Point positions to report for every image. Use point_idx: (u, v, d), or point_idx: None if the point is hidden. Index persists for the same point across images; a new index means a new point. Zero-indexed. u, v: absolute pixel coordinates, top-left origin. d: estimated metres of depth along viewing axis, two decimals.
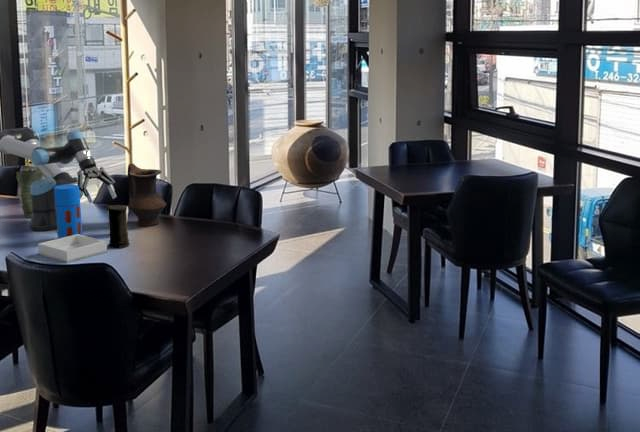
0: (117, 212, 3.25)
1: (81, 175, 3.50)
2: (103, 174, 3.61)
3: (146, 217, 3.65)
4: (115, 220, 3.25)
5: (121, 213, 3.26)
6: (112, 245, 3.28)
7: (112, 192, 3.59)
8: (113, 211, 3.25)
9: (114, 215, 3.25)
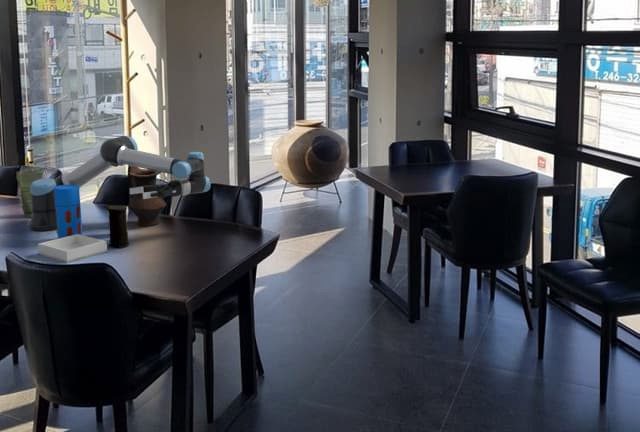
0: (117, 212, 3.25)
1: None
2: None
3: (146, 217, 3.65)
4: (115, 220, 3.25)
5: (121, 213, 3.26)
6: (112, 245, 3.28)
7: (135, 191, 3.39)
8: (113, 211, 3.25)
9: (114, 215, 3.25)
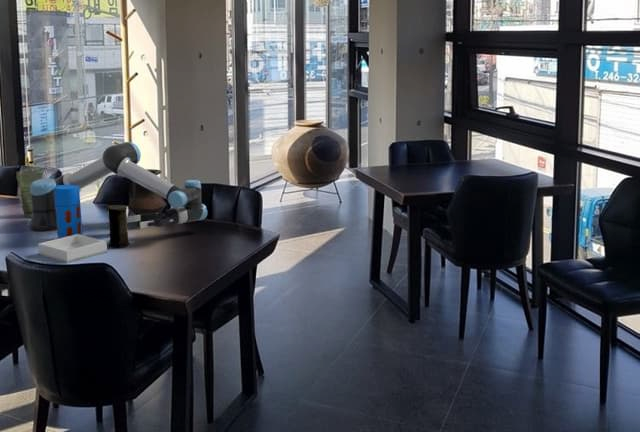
0: (117, 212, 3.25)
1: None
2: None
3: None
4: (115, 220, 3.25)
5: (121, 213, 3.26)
6: (112, 245, 3.28)
7: (132, 219, 3.40)
8: (113, 211, 3.25)
9: (114, 215, 3.25)
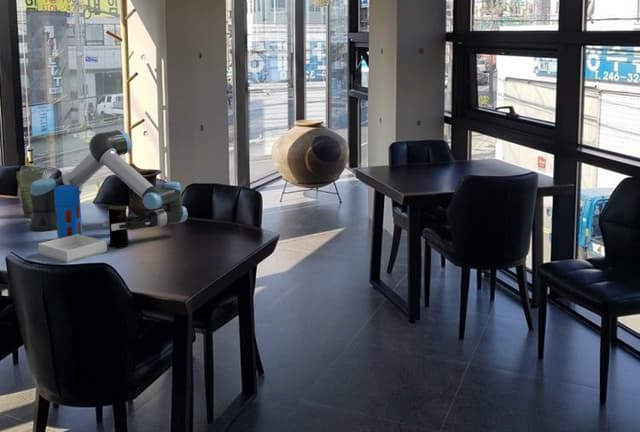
0: (116, 212, 3.25)
1: None
2: None
3: None
4: (115, 220, 3.25)
5: (121, 213, 3.26)
6: (112, 245, 3.28)
7: None
8: (113, 211, 3.25)
9: (114, 215, 3.25)
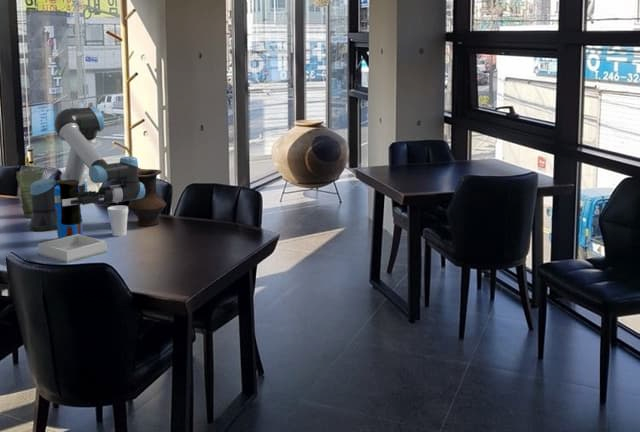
0: (68, 186, 3.10)
1: None
2: None
3: (146, 217, 3.65)
4: (66, 195, 3.10)
5: (72, 188, 3.10)
6: (63, 221, 3.13)
7: None
8: (64, 186, 3.09)
9: (65, 190, 3.10)
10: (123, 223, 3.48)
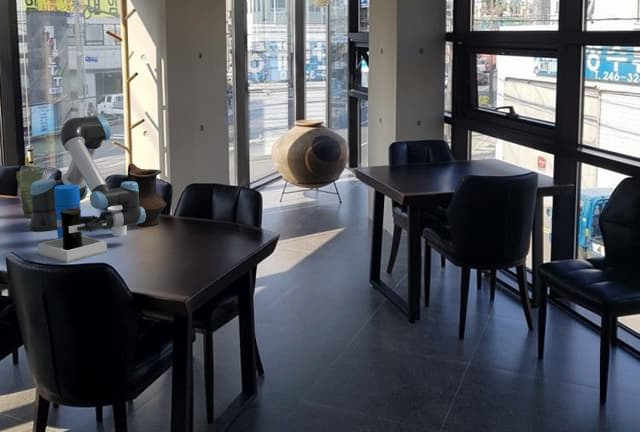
0: (69, 216, 3.12)
1: None
2: None
3: (146, 217, 3.65)
4: (67, 224, 3.13)
5: (74, 217, 3.13)
6: None
7: None
8: (66, 215, 3.12)
9: (67, 219, 3.13)
10: None
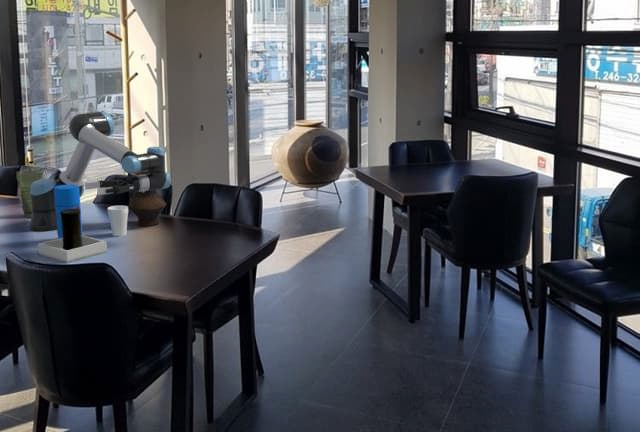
0: (69, 216, 3.12)
1: None
2: None
3: (146, 217, 3.65)
4: (67, 224, 3.13)
5: (74, 217, 3.13)
6: None
7: (91, 186, 3.26)
8: (65, 215, 3.12)
9: (66, 219, 3.13)
10: (123, 223, 3.48)
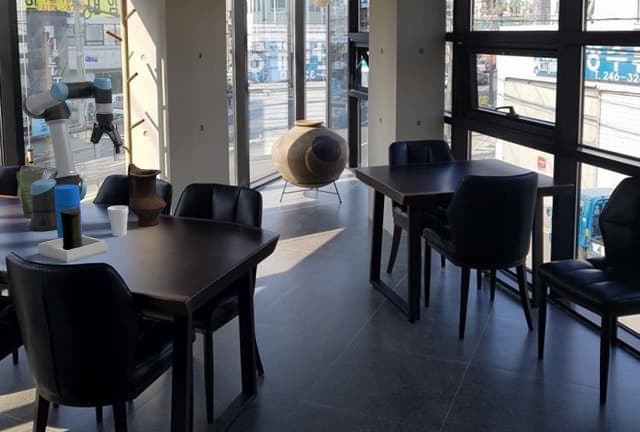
0: (69, 216, 3.12)
1: (93, 128, 3.38)
2: None
3: (146, 217, 3.65)
4: (67, 224, 3.13)
5: (74, 217, 3.13)
6: None
7: None
8: (65, 215, 3.12)
9: (66, 219, 3.13)
10: (123, 223, 3.48)
